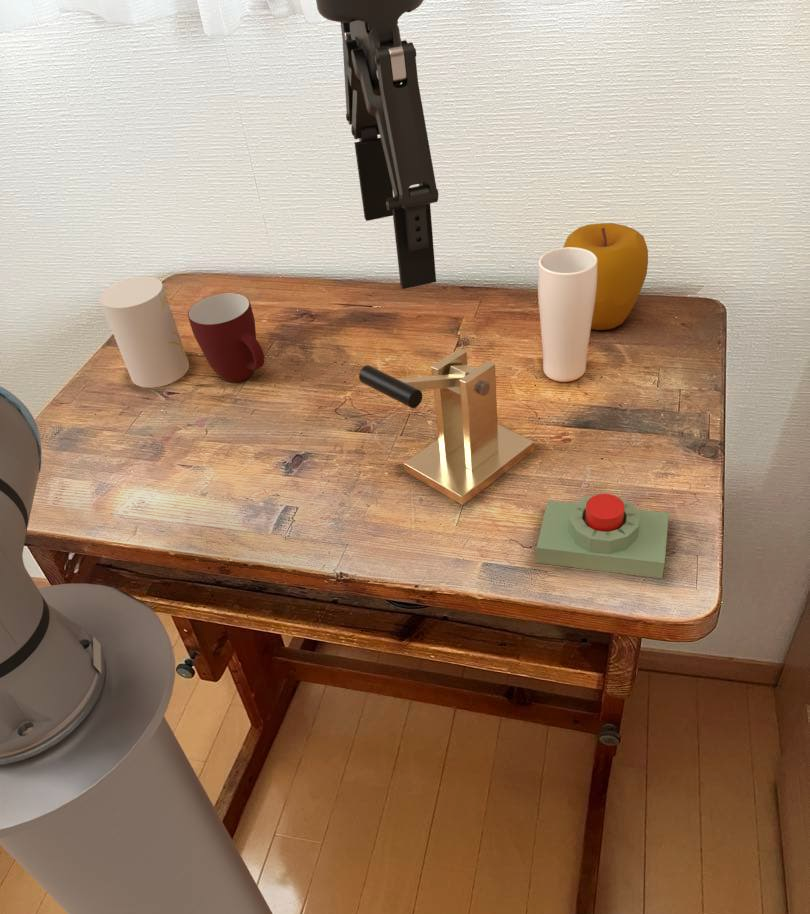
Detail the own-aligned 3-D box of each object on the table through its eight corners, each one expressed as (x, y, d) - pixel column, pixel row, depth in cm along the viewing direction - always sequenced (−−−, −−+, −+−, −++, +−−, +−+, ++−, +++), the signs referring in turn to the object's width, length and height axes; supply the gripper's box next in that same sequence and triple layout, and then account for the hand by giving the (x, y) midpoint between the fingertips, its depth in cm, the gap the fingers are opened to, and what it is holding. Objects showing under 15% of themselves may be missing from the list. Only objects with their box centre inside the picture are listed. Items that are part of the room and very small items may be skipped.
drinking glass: (528, 365, 107) (528, 255, 97) (576, 352, 108) (581, 241, 98) (550, 392, 102) (553, 279, 92) (601, 378, 103) (609, 265, 93)
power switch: (462, 505, 89) (454, 408, 80) (404, 471, 94) (391, 376, 86) (534, 450, 95) (534, 353, 86) (475, 421, 100) (470, 326, 91)
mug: (293, 371, 112) (277, 303, 105) (254, 402, 108) (234, 334, 101) (236, 353, 117) (217, 287, 110) (196, 382, 113) (174, 316, 106)
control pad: (536, 563, 82) (536, 534, 79) (547, 515, 87) (547, 486, 84) (662, 578, 79) (666, 549, 76) (666, 528, 84) (671, 498, 81)
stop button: (583, 530, 80) (583, 516, 79) (587, 505, 82) (588, 491, 81) (621, 534, 79) (622, 520, 78) (625, 508, 81) (626, 495, 80)
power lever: (406, 412, 77) (411, 387, 76) (356, 386, 81) (361, 362, 80) (494, 401, 86) (500, 379, 85) (446, 378, 90) (451, 357, 89)
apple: (640, 299, 116) (649, 207, 107) (643, 341, 108) (653, 246, 99) (560, 300, 118) (562, 210, 109) (557, 341, 110) (559, 248, 101)
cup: (197, 372, 114) (171, 292, 106) (142, 394, 112) (110, 314, 103) (177, 348, 120) (150, 270, 111) (123, 369, 117) (92, 291, 109)
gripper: (475, -36, 47) (486, 306, 61) (378, -91, 64) (404, 185, 79) (345, -14, 46) (388, 328, 61) (282, -75, 64) (328, 201, 78)
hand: (397, 248), depth 70 cm, fingers open, 13 cm apart
